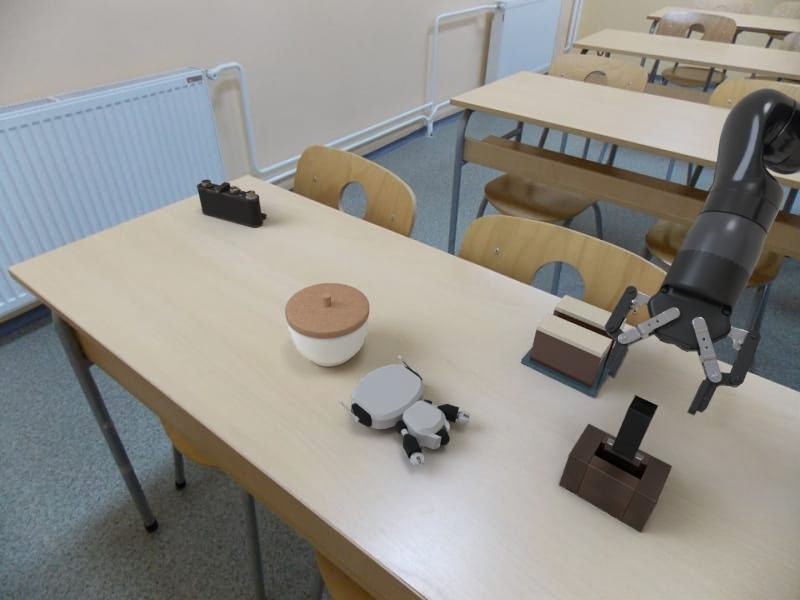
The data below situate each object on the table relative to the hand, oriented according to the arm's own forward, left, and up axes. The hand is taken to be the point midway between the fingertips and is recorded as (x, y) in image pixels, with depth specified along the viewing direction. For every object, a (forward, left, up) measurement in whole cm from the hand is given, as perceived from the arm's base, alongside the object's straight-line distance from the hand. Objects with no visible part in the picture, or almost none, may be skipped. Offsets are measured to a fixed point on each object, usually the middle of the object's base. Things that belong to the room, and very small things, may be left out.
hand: (649, 394), depth 57 cm
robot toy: (+26, +10, -15) cm, 31 cm away
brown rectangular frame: (0, +3, -15) cm, 15 cm away
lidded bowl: (+44, +6, -15) cm, 47 cm away
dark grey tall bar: (0, +3, -15) cm, 15 cm away
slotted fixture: (+13, -17, -15) cm, 26 cm away
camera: (+94, -14, -15) cm, 96 cm away
